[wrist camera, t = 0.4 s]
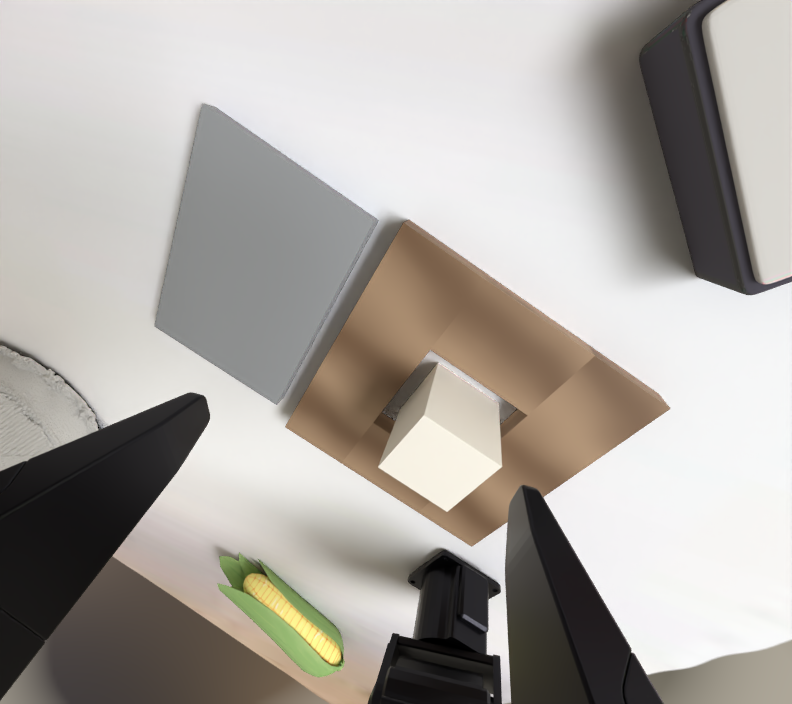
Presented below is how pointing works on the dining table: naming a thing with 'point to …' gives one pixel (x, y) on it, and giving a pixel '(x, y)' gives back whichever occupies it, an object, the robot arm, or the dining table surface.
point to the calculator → (728, 136)
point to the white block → (444, 439)
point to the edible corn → (284, 616)
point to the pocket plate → (480, 359)
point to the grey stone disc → (37, 410)
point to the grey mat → (255, 256)
